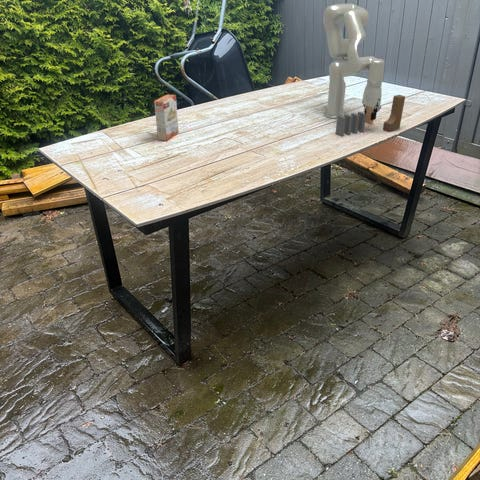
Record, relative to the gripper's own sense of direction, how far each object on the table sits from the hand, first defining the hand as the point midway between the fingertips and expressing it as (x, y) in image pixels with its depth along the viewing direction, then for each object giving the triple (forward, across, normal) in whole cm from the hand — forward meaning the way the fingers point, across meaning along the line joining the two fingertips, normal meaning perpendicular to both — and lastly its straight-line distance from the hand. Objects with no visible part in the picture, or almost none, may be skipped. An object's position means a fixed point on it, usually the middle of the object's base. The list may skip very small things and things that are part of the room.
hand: (369, 118), depth 249 cm
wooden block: (+7, +6, +12) cm, 14 cm away
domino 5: (+3, 0, 0) cm, 3 cm away
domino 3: (+7, 0, -10) cm, 12 cm away
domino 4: (+7, 0, -6) cm, 9 cm away
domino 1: (+7, 0, -19) cm, 20 cm away
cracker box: (+6, -40, -102) cm, 110 cm away
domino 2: (+7, 0, -14) cm, 16 cm away
